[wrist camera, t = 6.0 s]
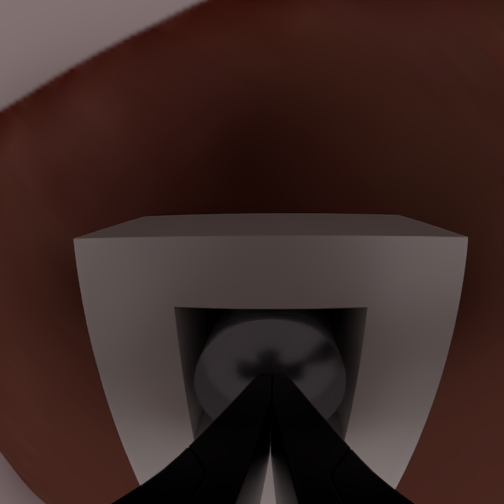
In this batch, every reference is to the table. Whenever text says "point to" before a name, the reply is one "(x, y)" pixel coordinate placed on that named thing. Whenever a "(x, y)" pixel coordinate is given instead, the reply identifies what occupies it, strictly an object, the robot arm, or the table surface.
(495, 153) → the table surface
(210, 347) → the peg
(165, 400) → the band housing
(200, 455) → the robot arm
